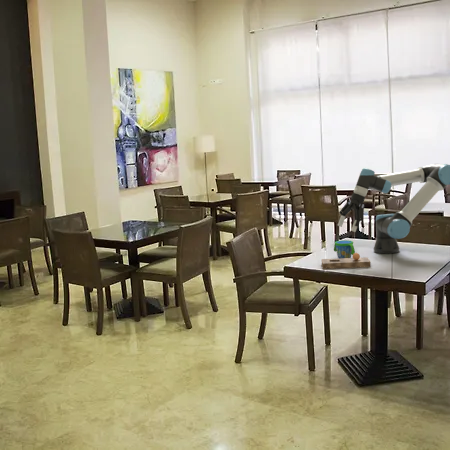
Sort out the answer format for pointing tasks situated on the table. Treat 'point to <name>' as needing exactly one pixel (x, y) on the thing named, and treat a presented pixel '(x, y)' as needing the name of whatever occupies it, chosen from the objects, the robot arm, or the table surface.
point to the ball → (356, 256)
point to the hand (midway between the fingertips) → (346, 228)
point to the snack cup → (344, 248)
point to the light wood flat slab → (345, 263)
